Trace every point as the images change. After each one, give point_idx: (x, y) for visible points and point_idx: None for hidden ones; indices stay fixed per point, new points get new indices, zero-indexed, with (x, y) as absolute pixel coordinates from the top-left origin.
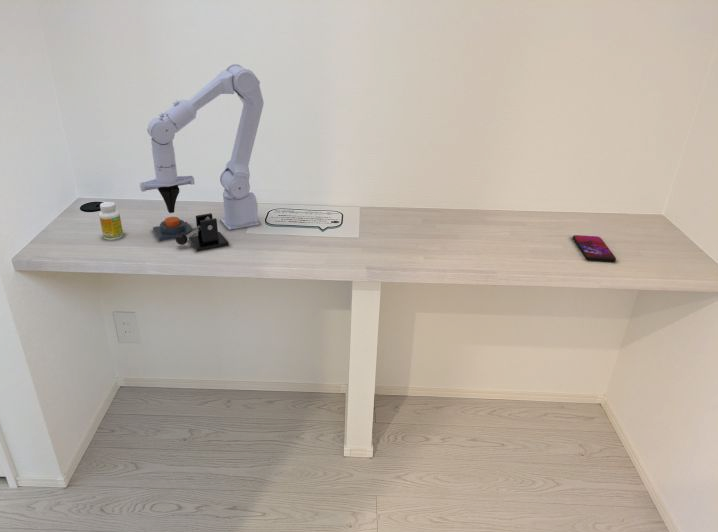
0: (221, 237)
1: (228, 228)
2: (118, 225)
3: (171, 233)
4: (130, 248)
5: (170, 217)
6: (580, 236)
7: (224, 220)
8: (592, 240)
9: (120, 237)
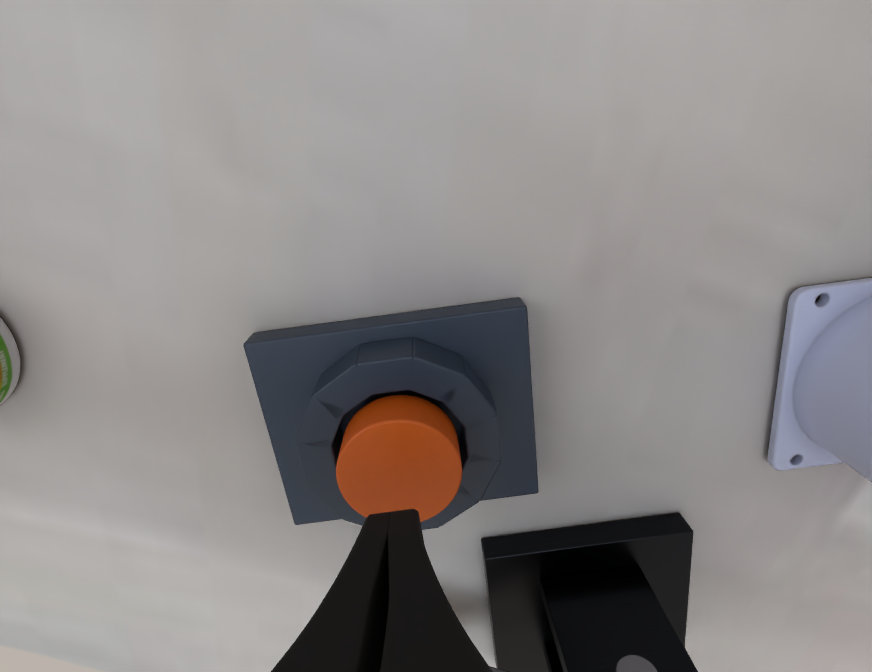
0: (672, 605)
1: (771, 462)
2: None
3: None
4: (120, 545)
5: (390, 435)
6: None
7: (811, 328)
8: None
9: (10, 394)
